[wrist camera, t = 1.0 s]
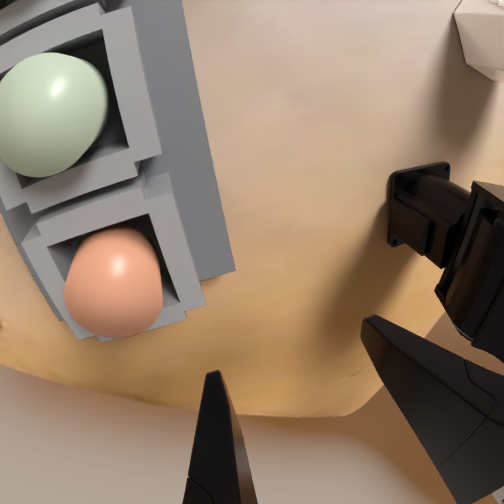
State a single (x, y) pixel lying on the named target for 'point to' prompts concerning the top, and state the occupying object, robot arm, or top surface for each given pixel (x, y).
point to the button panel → (120, 150)
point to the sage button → (51, 113)
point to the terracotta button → (114, 282)
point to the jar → (482, 36)
